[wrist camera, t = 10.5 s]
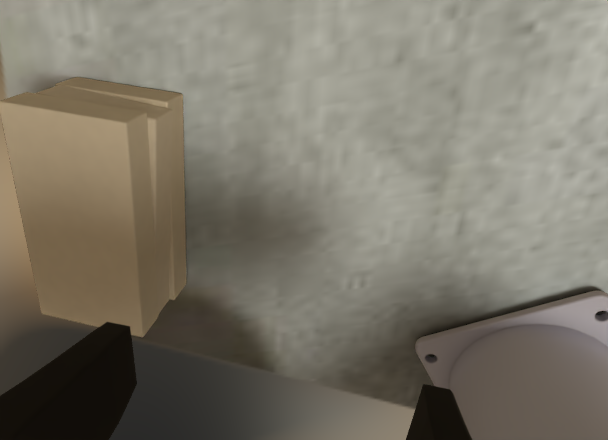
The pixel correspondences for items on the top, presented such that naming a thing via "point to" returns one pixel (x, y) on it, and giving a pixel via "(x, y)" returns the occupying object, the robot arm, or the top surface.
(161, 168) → the beige book
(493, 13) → the top surface
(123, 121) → the beige flat slab
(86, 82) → the beige flat block
